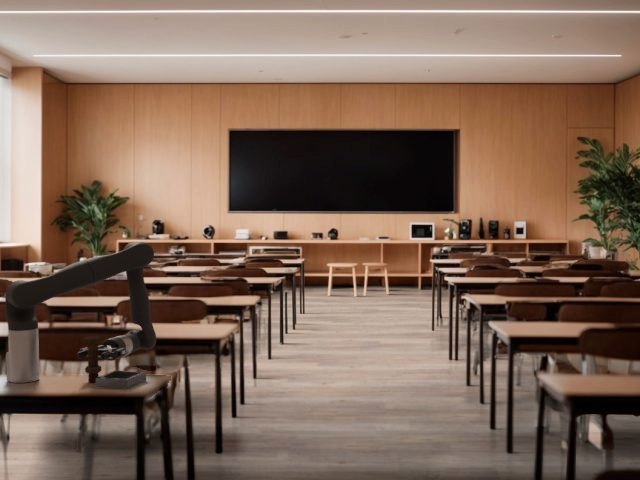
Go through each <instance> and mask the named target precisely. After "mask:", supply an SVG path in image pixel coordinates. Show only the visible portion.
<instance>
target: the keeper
mask: <svg viewBox="0 0 640 480" xmlns="http://www.w3.org/2000/svg"><path fill="white" fill-rule="evenodd" d="M145 382H147V372H146V371H132V370H131V371H130V370H129V371H128V370H113V371H111V372H108V373H105V374H102V375H100V376H99V375H98V377H97V378H96V383H95V388H99V389H100V388H101V389H102V388H103V389H115V390H116V389H117V390H118V389H119V390H129V389H131V388H133V387H136V386H139V385H141V384H143V383H145Z"/></svg>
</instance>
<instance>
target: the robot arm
mask: <svg viewBox="0 0 640 480" xmlns="http://www.w3.org/2000/svg"><path fill="white" fill-rule="evenodd" d="M154 258H155V251H154V249H153V247H152V245H150V244H148V243H146V242H142V241H131V242H129V243H128V244H126V245H125V246H124V248H123V250H120V251H118V252H115V253H111V254H104V255H99V256H94V257H90V258H86V259H83V260H80V261H77V262H73V263H71V264H68V265H67V266H65V267H63V268H60V269H59V270H58V271H56V272H55V273H52V274H51V275H47V276H45V277H41V278H37V279H33V280H28V281H27V280H22V279H21V280H20V279H19V280H15V281H13V282H11V283H10V284H9V285H8V286H7V288H6V289H5V295H4V296H5V317H6V322H7V323H6V324H7V331H8V333H7V334H8V336H7V337H8V351H7V352H6V353H5V356H6V357H5V362H6V363H5V364H6V382H10V383H12V384H13V383H14V384H15V383H16V384H22V383H23V384H24V383H30V382H34V381H35V382H36V381H38V380H40V352H39V351H40V349H39V347H40V346H39V344H40V343H39V319H38V318H37V314H36V307H37V306H38V305H40V304H42V303H44V302H46V301H48V300H51V299H53V298H56V297H57V296H61V295H65V294H68V293H71V292H75V291H78V290H82V289H84V288H88V287H90V286H93V285H96V284H98V283H101V282H103V281H105V280H107V279H110V278H112V277H114V276H117V275H119V274H122V273H124V272H125V274H126V280H127V284H128V294H129V309H130V310H129V312H130V322H131V323H132V324H134V325H137V326H139V327H140V328H141V329H133V330H129V331H128V332H127V333H125V334H123V335H118V336H117V335H116V336H114V337H110V338H106V339H104V341H102V342H101V345H99V344H98V358H99V359H100V361H104V360H106V361H110V362H111V361H115V360H118V359H122V358H124V357H126V356H128V355H131V354H133V353H135V352H137V350H151V349H153V348H154V347H155V346H156V343H157V334H156V332H155V331H156V330H155V328H154V327H153V326H154V325H153V321H152V319H151V309H150V308H151V307H150V306H151V305H150V304H151V303H150V298H149V297H150V296H149V293H148V289H147V287H146V283H145V276H144V268H145V267H147V266H149V265H150V264H151V263H152V262H153V259H154ZM76 357H77V358H76V359H78V360H81V359H85V358H88V347H87V346H86V347H82V348H80V349H79V351H78V352H77V353H76Z"/></svg>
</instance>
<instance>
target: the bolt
mask: <svg viewBox="0 0 640 480" xmlns="http://www.w3.org/2000/svg"><path fill="white" fill-rule="evenodd" d="M82 339H83V340H82V343H84V344H87V345H86V347H88V357H87V359H88V361H87V366H86V367H85V368H84V371H85V373H87V374H88V384H91V383H93V384H96V378H97V377H99V374H100V373H101V372H102V366H101V365H99V357H98V346H99V343H103V337H101V336H99V335H91V336H85V337H83V338H82Z"/></svg>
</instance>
